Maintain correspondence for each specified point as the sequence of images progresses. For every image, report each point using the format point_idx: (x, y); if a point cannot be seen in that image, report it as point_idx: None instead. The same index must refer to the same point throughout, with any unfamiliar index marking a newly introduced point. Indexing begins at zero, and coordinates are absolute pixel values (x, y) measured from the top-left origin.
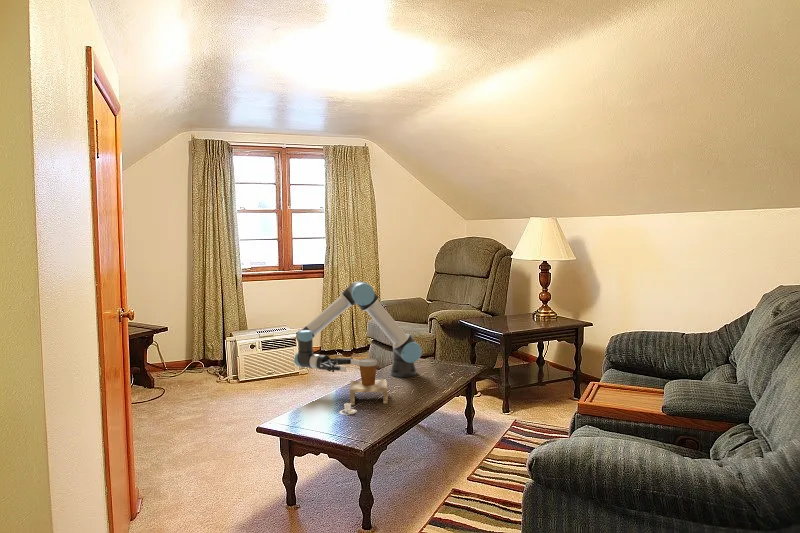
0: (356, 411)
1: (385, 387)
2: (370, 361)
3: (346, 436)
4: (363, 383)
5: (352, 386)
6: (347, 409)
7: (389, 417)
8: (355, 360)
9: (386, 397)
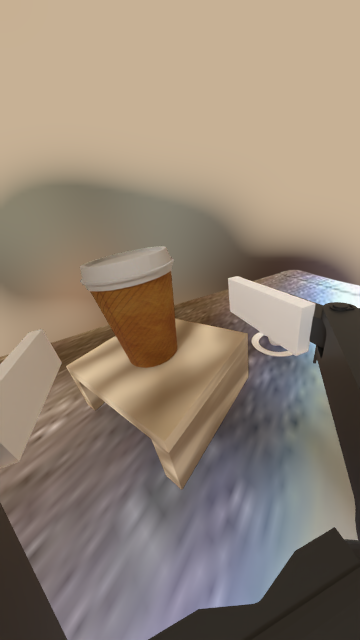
0: (254, 335)
1: None
2: (129, 256)
3: (307, 283)
4: (176, 341)
5: (219, 355)
6: None
7: (213, 305)
8: (18, 366)
9: None
